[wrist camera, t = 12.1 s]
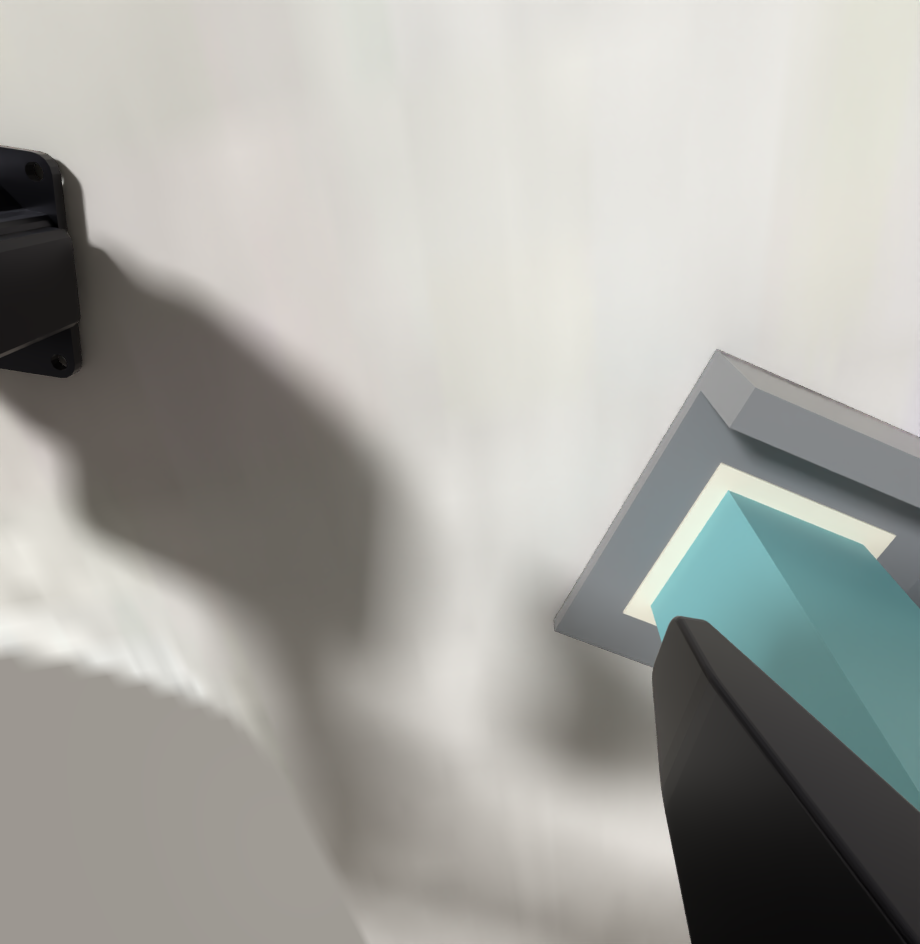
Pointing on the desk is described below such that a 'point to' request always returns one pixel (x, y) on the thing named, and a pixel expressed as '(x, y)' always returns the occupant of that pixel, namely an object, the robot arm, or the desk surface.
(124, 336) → the desk surface
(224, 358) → the desk surface
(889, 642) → the block
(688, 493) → the tray
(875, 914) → the robot arm
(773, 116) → the desk surface
